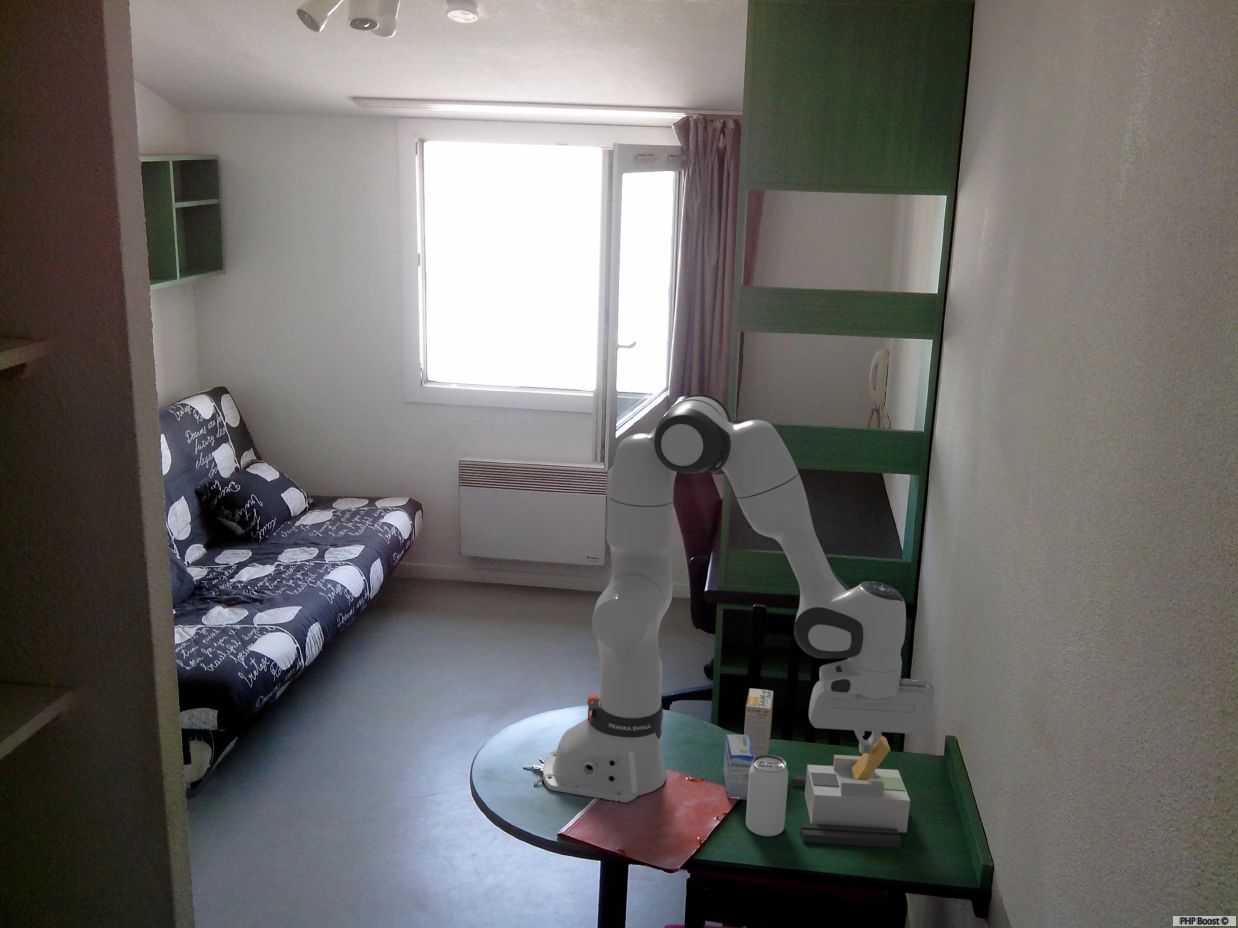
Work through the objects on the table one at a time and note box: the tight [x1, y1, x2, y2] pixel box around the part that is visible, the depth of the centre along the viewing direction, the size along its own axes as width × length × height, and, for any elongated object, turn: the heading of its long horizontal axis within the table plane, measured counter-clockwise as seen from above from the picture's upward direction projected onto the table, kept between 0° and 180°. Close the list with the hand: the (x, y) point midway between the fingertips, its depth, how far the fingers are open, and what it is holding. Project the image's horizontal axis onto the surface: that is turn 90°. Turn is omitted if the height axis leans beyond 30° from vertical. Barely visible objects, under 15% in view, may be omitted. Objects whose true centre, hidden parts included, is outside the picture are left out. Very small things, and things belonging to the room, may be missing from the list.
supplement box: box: [743, 688, 774, 757], centre depth 198 cm, size 8×5×13 cm, turn 168°
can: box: [745, 754, 789, 838], centre depth 177 cm, size 6×6×12 cm
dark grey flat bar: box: [800, 822, 902, 849], centre depth 175 cm, size 16×3×1 cm, turn 87°
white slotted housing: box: [804, 754, 911, 833], centre depth 182 cm, size 16×10×8 cm, turn 87°
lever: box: [851, 734, 891, 780], centre depth 181 cm, size 2×6×9 cm, turn 178°
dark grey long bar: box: [790, 774, 806, 788], centre depth 191 cm, size 16×1×1 cm, turn 87°
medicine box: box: [722, 734, 755, 801], centre depth 189 cm, size 8×4×9 cm, turn 1°
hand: (865, 751), depth 180 cm, fingers closed
